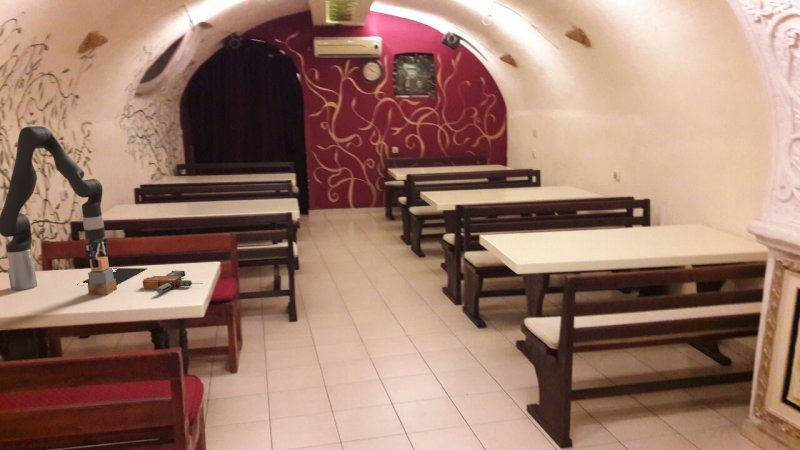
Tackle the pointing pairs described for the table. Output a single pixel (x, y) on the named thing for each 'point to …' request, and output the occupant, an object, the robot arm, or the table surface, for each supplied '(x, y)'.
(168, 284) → the tool
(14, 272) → the robot arm
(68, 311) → the table surface
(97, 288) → the walnut base block
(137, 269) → the tablet
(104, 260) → the terracotta block
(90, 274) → the gray middle block
